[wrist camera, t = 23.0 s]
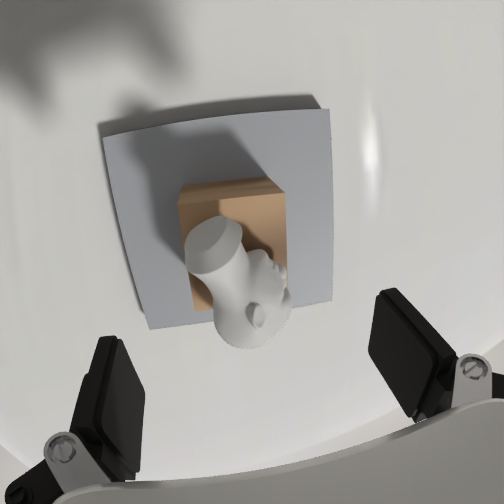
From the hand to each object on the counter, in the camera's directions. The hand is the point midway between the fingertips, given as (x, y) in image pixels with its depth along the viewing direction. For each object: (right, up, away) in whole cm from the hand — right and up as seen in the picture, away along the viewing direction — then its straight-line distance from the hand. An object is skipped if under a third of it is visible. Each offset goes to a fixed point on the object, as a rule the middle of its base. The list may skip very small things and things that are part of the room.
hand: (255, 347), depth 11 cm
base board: (-2, +6, +14) cm, 15 cm away
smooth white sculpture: (-1, +2, +9) cm, 9 cm away
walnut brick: (-2, +5, +12) cm, 14 cm away
